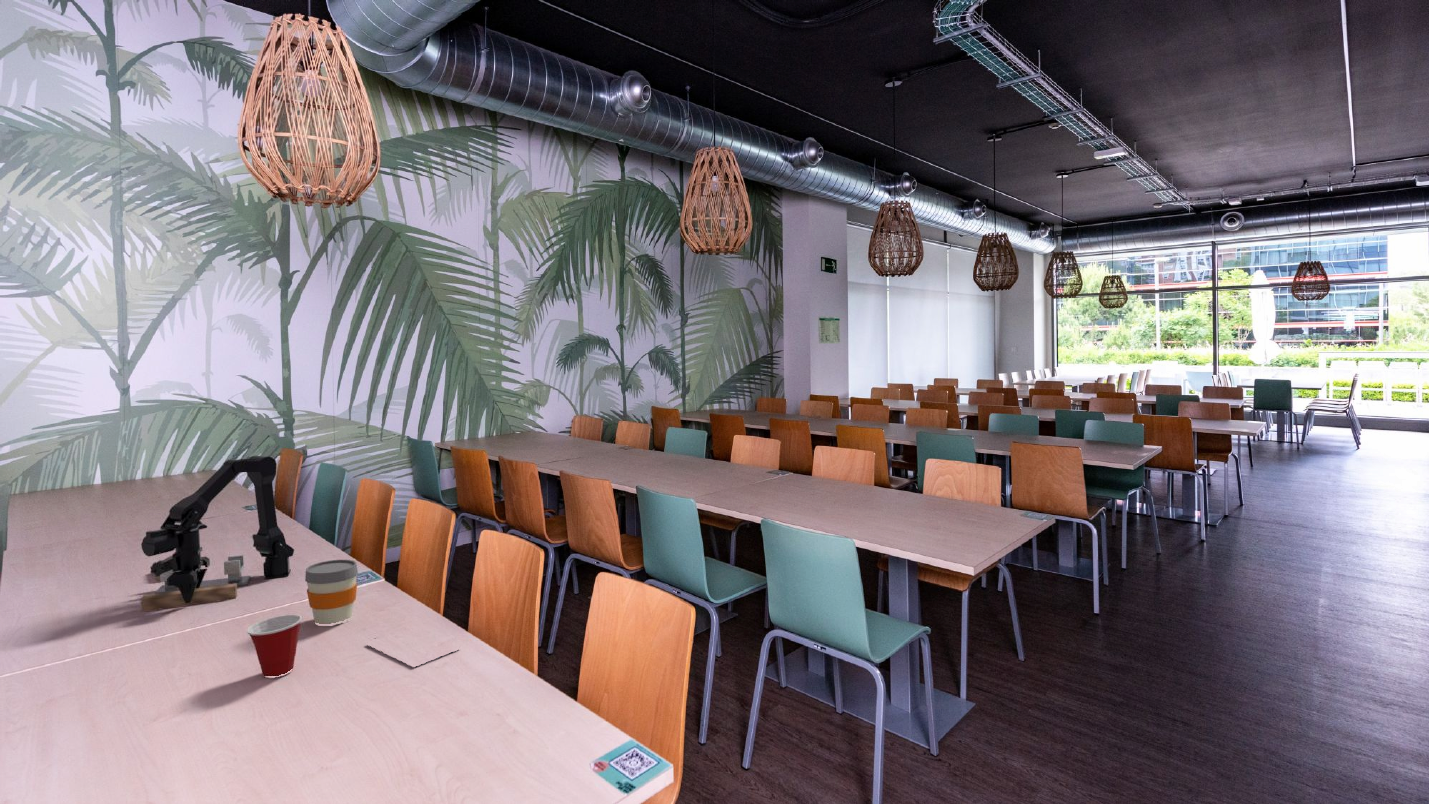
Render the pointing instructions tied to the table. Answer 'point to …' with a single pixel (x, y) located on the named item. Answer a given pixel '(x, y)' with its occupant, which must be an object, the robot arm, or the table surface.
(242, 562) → the bracket stand
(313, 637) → the table surface
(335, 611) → the reusable coffee cup
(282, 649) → the plastic cup
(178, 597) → the rail
